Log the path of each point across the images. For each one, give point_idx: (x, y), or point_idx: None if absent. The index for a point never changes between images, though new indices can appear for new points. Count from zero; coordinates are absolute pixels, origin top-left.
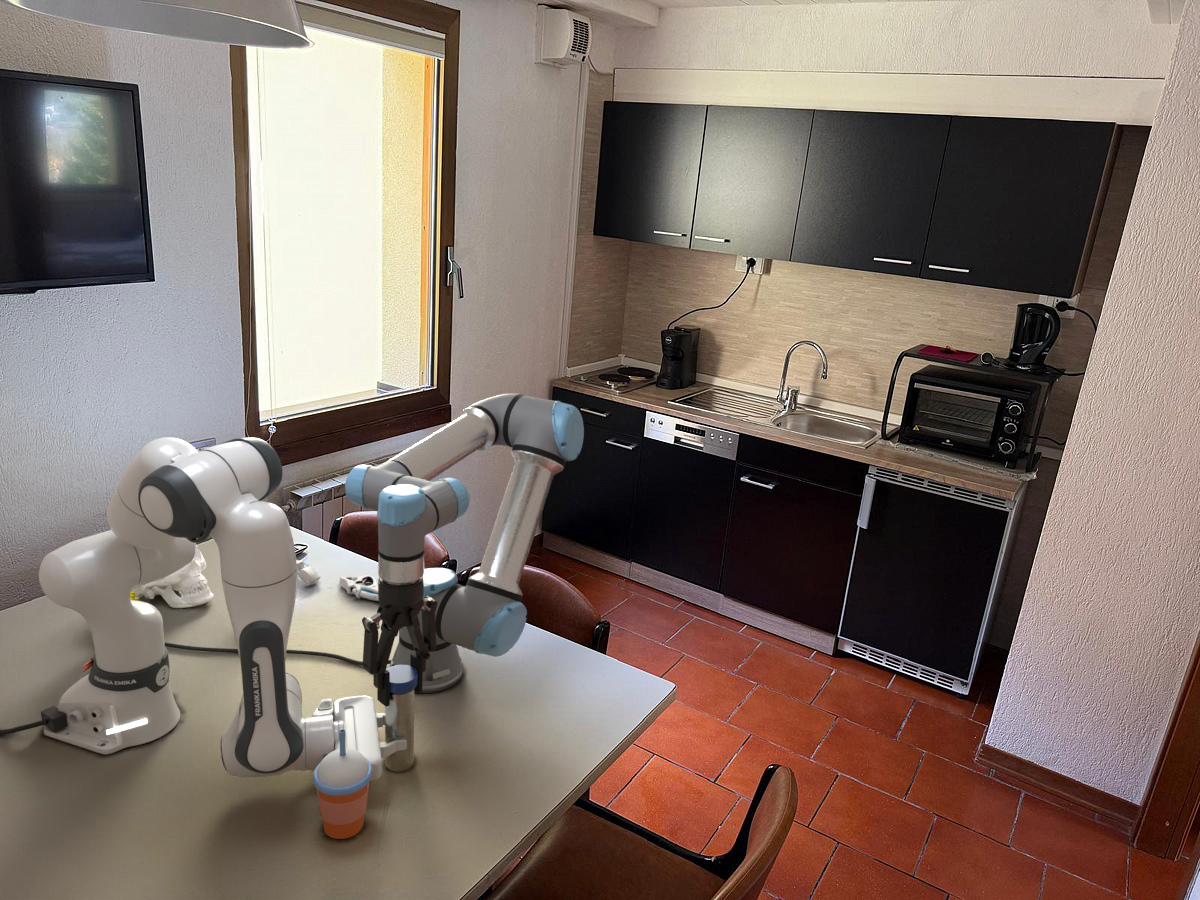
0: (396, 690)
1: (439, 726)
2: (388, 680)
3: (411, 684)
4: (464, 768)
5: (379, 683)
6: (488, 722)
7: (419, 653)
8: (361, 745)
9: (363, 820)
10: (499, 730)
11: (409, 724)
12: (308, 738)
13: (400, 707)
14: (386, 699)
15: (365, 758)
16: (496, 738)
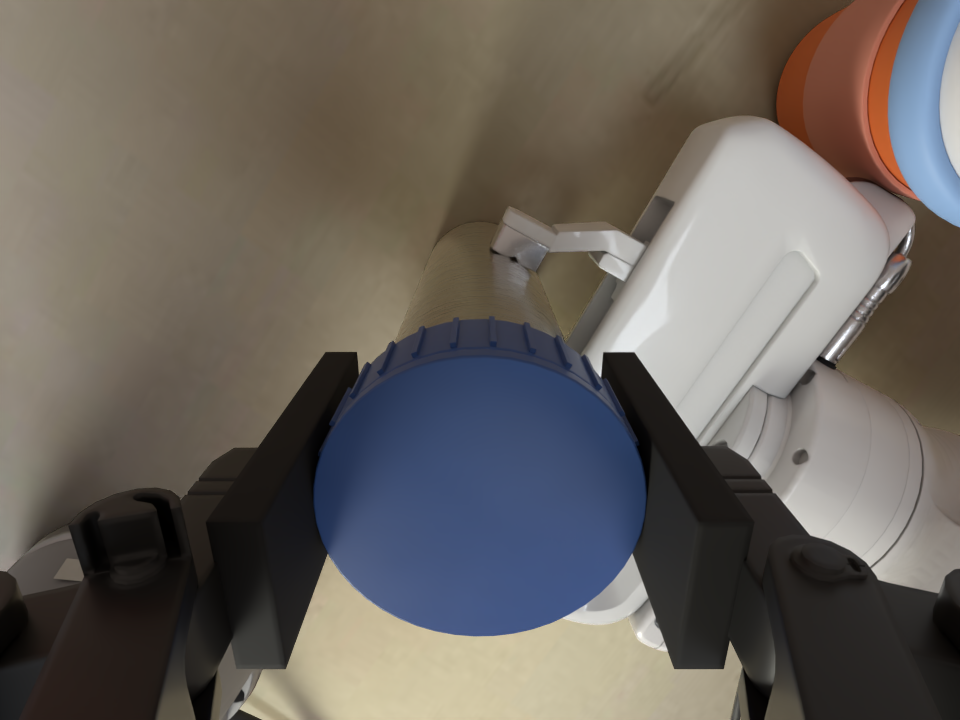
0: (592, 369)
1: (245, 360)
2: (678, 463)
3: (458, 338)
4: (288, 72)
5: (750, 482)
6: (58, 263)
7: (196, 620)
8: (725, 297)
9: (821, 25)
10: (37, 189)
11: (467, 264)
12: (911, 461)
13: (530, 312)
14: (642, 375)
15: (935, 71)
16: (72, 152)
